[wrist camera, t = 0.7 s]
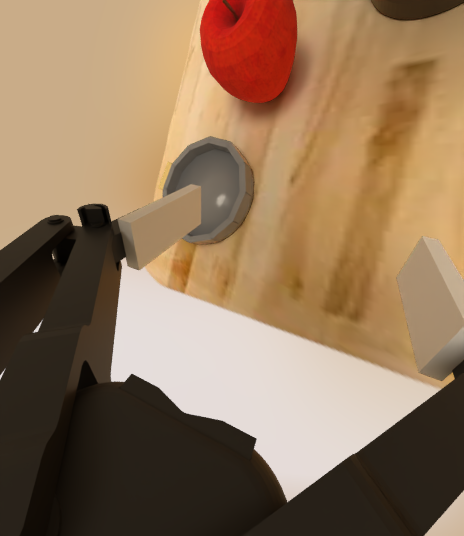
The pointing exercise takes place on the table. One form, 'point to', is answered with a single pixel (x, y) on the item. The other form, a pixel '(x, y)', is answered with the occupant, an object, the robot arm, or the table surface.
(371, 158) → the table surface
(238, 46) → the apple
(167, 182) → the dish
